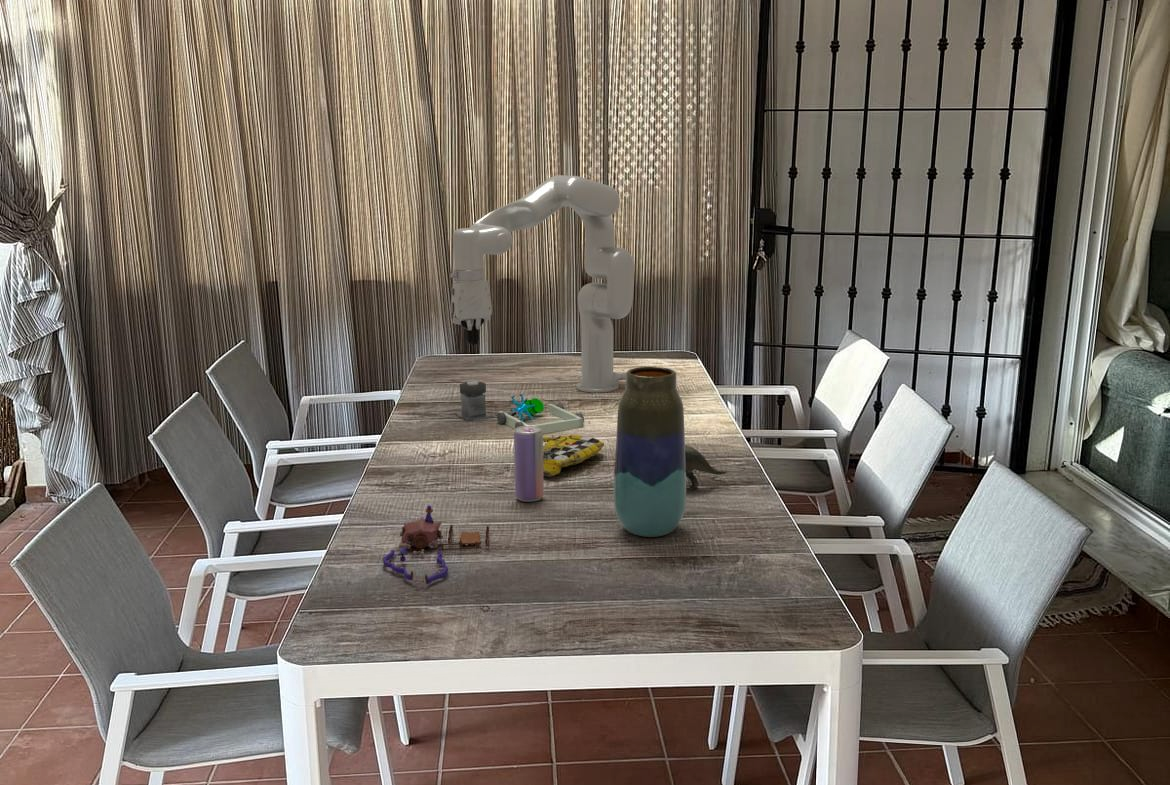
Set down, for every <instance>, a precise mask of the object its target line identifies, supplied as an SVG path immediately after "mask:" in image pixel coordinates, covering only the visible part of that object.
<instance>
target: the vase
mask: <svg viewBox="0 0 1170 785" xmlns="http://www.w3.org/2000/svg"><path fill="white" fill-rule="evenodd" d="M625 373H626V379H625V389H624V391H623V393H622V396H621V398H620V399H619V402H618V405H617V406H618V408H617V422H616V438H615V456H614V474H613V505H614V512H615V514H616V515H615V516H616V517H617V519H618V521H619V522H620V525H622V527H623V528H624V529H625V530H626V531H628V533H631V534H632V535H635V536H639V537H645V538H646V537H647V538H652V537H653V538H655V537H662V536H665V535H668V534H670V533H672V532H673V531H674V530H675V529H676V528H677V527H678V525H679V524H680V523H681V521H682V519H683V517H684V514H685V510H686V504H687V477H686V461H685V445H686V439H685V438H686V437H685V435H686V434H685V413H684V412H685V411H684V402H683V400H682V398H681V395H680V394H679V392H678V388H677V372H676V371H675V370H674V369H671V368H668V367H661V366H660V367H659V366H639V367H633V368H631V369H628V370H626V372H625Z"/></svg>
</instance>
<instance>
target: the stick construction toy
mask: <svg viewBox="0 0 1170 785" xmlns="http://www.w3.org/2000/svg"><path fill="white" fill-rule="evenodd" d="M519 396H520V397H521V399H520V400H521V403H520V402H518V401H517V400H516V399H515V396H514V395H513V396H511V400H510V403H514V405H515V406H516V407H517V408H514V409H510V410H509V413H511V412H512V413H511V414H510V415H511V416H513V417H516V419H518V418H520V421H522V422H524V423H526V420H524V416H523V415H524V414H526V415H527V416H528V417H529V418H530V422H532V421H533V420H534V416H536V415H538V414H541V413H542V412H543V411H544V409H545V408H544V407H545V406H544V403H543V401H541V399H539V398H537V397H533V398H531V399H527V398H526V399H525V400H524V395H523V393H520V394H519Z"/></svg>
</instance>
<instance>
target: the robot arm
mask: <svg viewBox="0 0 1170 785" xmlns="http://www.w3.org/2000/svg"><path fill="white" fill-rule="evenodd" d="M620 204H621V198H620V195H619V193H618V192H617V190H616V189H615V188H614V187H612V186H610V185H607V184H604V183H601V182H597V181H594V180H593V179H592V180H591V179H588V178H585V177H582V176H580V175H579V176H578V175H565V174H564V175H563V174H557V175H556V174H555V175H553V176H551V177H549V178H548V179H546V180H545V181H543V182H542V183H540V184H539V185H538V186H536V187H535V188H534V189H532V190H531V191H529V192H528V193H526V194H525V195H524V196H522V197H520V198H519V199H517V200H515V201H514V200H513V201H512V202H509V203H508V204H505V205H503V206H501V207H499V208H496V209H494V210H492V211H490V212H488V213H486V214H485V215H484V216H482V217H480V218H479V219H478V220H476V221H475V222H474V223H473V224H472V225H471V226H470V227H463V228H457V229H455V230H454V231H453V234H452V239H453V240H452V241H453V261H454V271H453V272H451V273H450V274H449V276H450V278H451V279H454V280H455V281H453V282H452V287H451V289H452V290H451V302H450V304H451V315H452V320H451V322H452V324H454V325H459V326H460V325H461V327H462V328H464V330H465V337H466V341H467V343H468V344H469V345H471V346H474V345H479V340H480V332H479V330H480V329H481V327H482V325H483V324H484V323H486V322H488V321H491V319H492V318H491V316H492V313H493V307H492V306H493V305H492V304H493V303H492V296H491V291H490V286H489V282H488V280H487V279H485V273H484V270H485V269H484V255H498V256H499V255H502V254H505V253H507V252H508V251H509V250H511V247H512V245H513V241H514V240H513V235H512V233H511V232H516V231H520V230H525V229H531V228H534V227H536V226H539V225H540V224H542V223H543V222H544V221H545V220H547V219H548V218H549V217H551V216H552V215H553V214H555V213H556V212H558V211H559V210H560V209H561V208H564V207H565V208H568V207H569V208H571V209H572V210H573V211H574V212H575V214H577V216H579V217H580V220H581V222H582V223H583V225H584V231H585V244H584V271H585V272H586V274H587V275H588V276H589V277H591V278H595V279H598V280H599V279H600V280H605V281H606V283H601V282H590V283H587V284H584V285H583V286H582V287H581V289H580V290H579V291H578V295H577V306H578V310H579V312H578V313H579V316H580V317H579V318H580V325H581V326H580V327H581V328H580V330H581V334H580V336H581V337H580V338H581V341H580V342H581V344H580V345H581V346H580V347H581V348H580V349H581V352H580V353H581V355H580V357H581V358H580V359H581V381H580V382H577V383H576V385H575V386H576V389H577V390H579V391H581V392H584V393H595V394H596V393H597V394H598V393H610V392H613V391H617V390H618V389H619V383H618V382H619V381H620V380H621V381H623V380H625V381H626V372H624V373H619V372H616V371H614V325H613V321H612V319H614V320H621V319H624V318H625V317H627V316H628V315H629V314H630V311H631V310H632V306H633V299H634V286H635V262H634V258H633V255H632V254H631V253H630V252H629V251H628V250H627V249H625V248H622V247H616V246H615V240H616V238H615V236H616V235H615V234H616V232H615V223H614V220H613V218H612V216H613V215H615V214H616V212H618V210H619V208H620Z"/></svg>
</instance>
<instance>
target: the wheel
mask: <svg viewBox="0 0 1170 785" xmlns="http://www.w3.org/2000/svg"><path fill="white" fill-rule="evenodd" d="M486 392H487V383H485V382H480V381H476V380H475V381H474V380H472V381H467V382H462V383H460V384H459V393H460V395H461V394H465V395H469V396H477V395H478V394H485V393H486Z"/></svg>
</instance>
